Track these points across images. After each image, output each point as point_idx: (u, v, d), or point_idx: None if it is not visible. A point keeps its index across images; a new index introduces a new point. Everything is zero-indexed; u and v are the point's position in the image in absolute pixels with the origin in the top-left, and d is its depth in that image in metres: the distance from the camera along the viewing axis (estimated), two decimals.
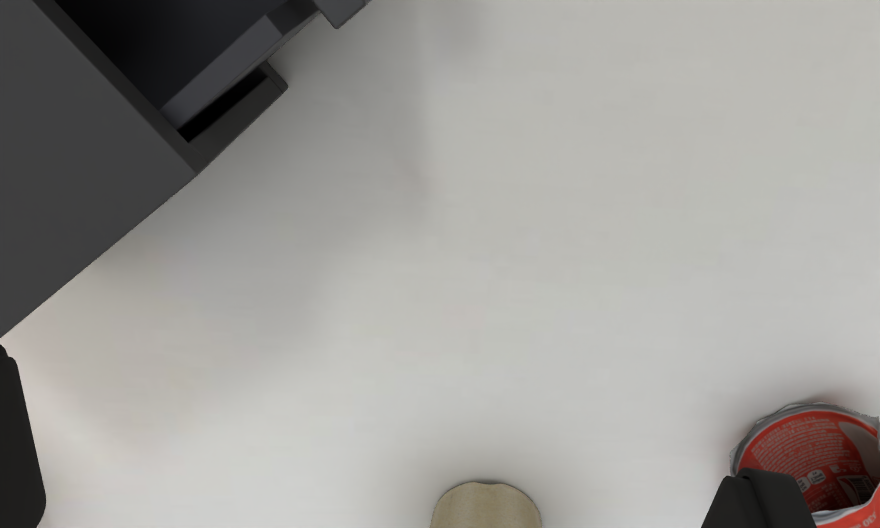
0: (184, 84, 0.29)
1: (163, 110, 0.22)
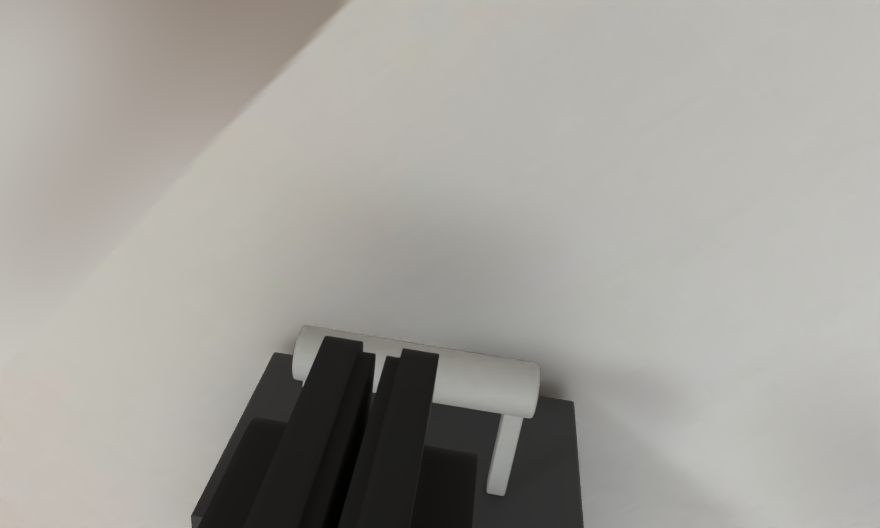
0: None
1: None
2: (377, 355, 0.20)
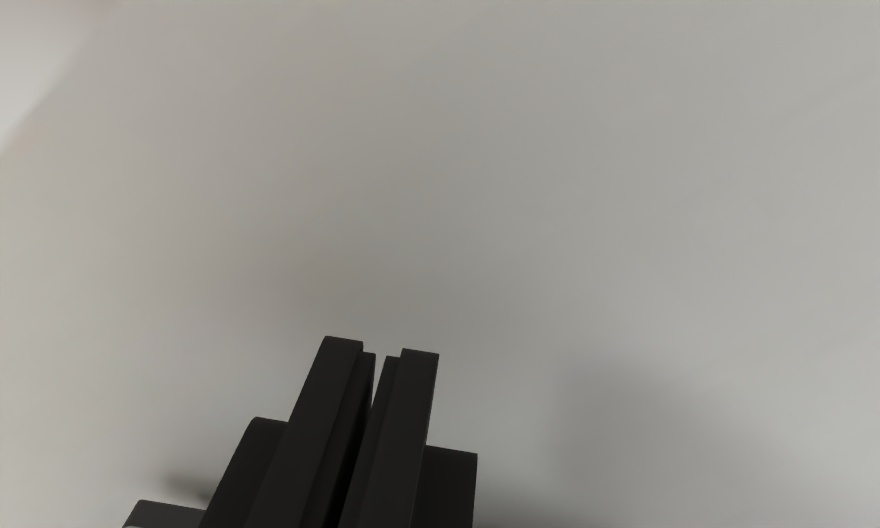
0: None
1: None
2: None
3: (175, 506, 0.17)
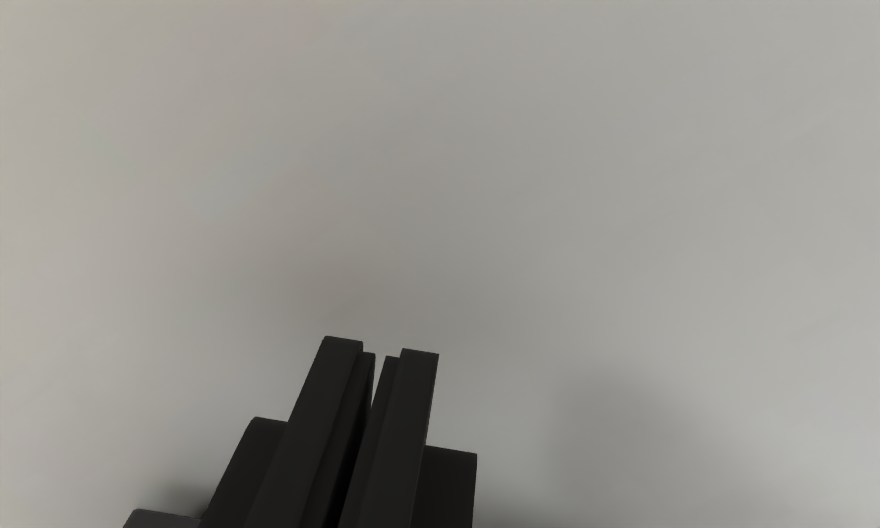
0: None
1: None
2: None
3: (172, 515, 0.17)
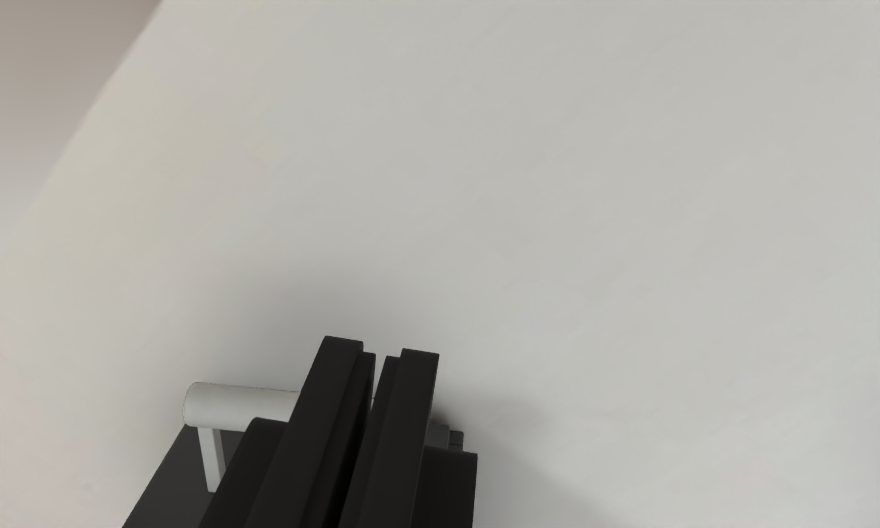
0: None
1: None
2: (248, 403, 0.26)
3: None
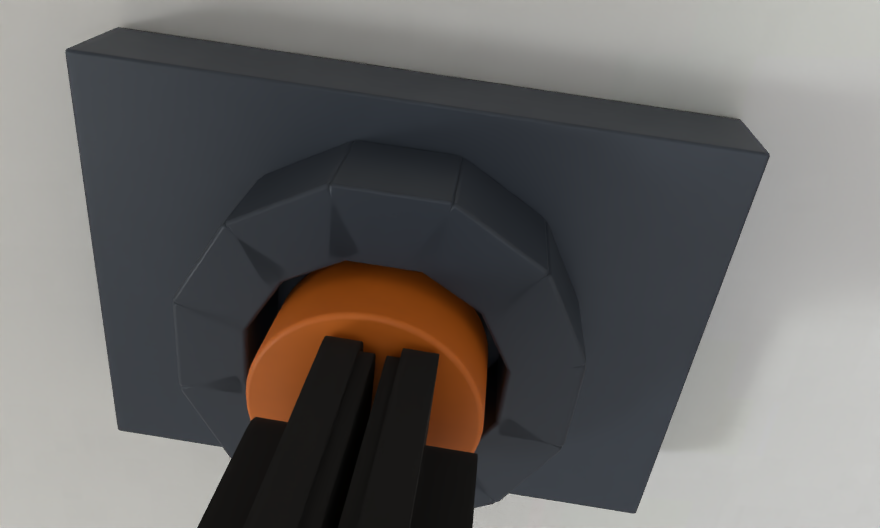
0: None
1: None
2: None
3: None
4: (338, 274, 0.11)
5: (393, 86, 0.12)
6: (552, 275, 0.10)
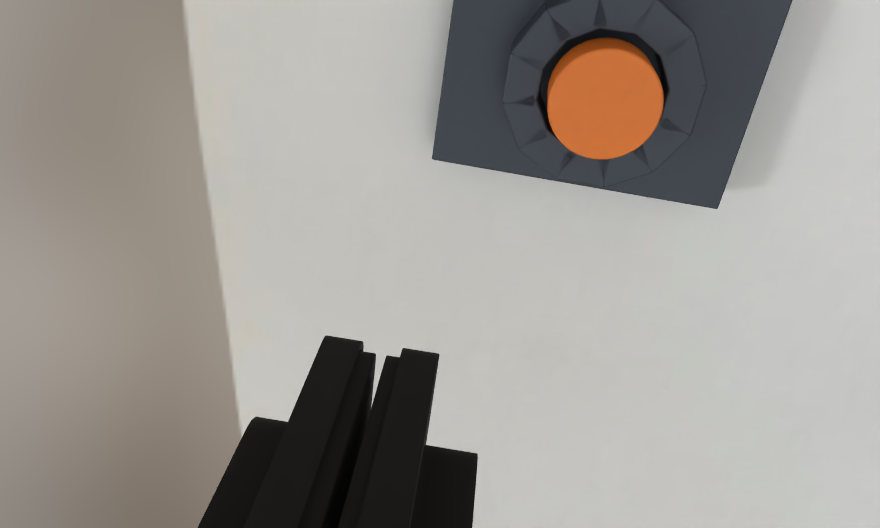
0: None
1: None
2: None
3: None
4: (592, 42, 0.23)
5: None
6: (695, 35, 0.23)
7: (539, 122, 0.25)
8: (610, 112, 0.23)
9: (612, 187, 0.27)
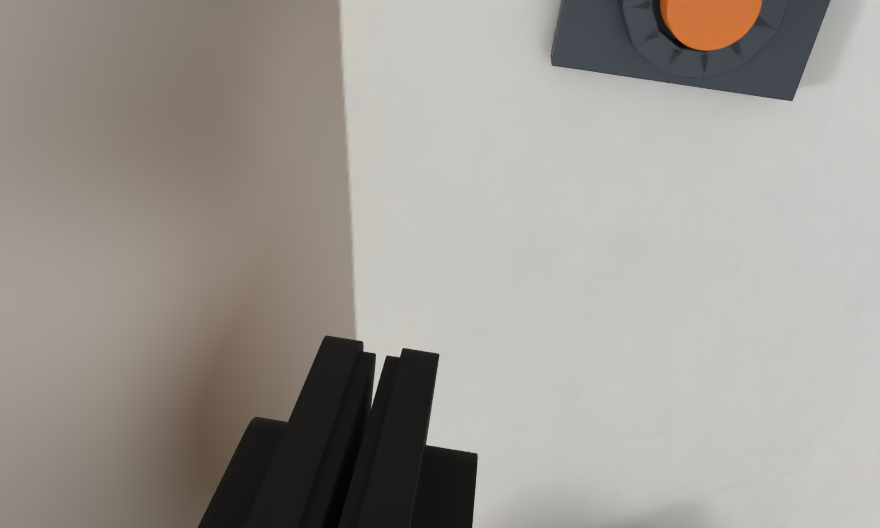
0: None
1: None
2: None
3: None
4: None
5: None
6: None
7: (653, 24, 0.30)
8: (718, 9, 0.28)
9: (704, 84, 0.32)
